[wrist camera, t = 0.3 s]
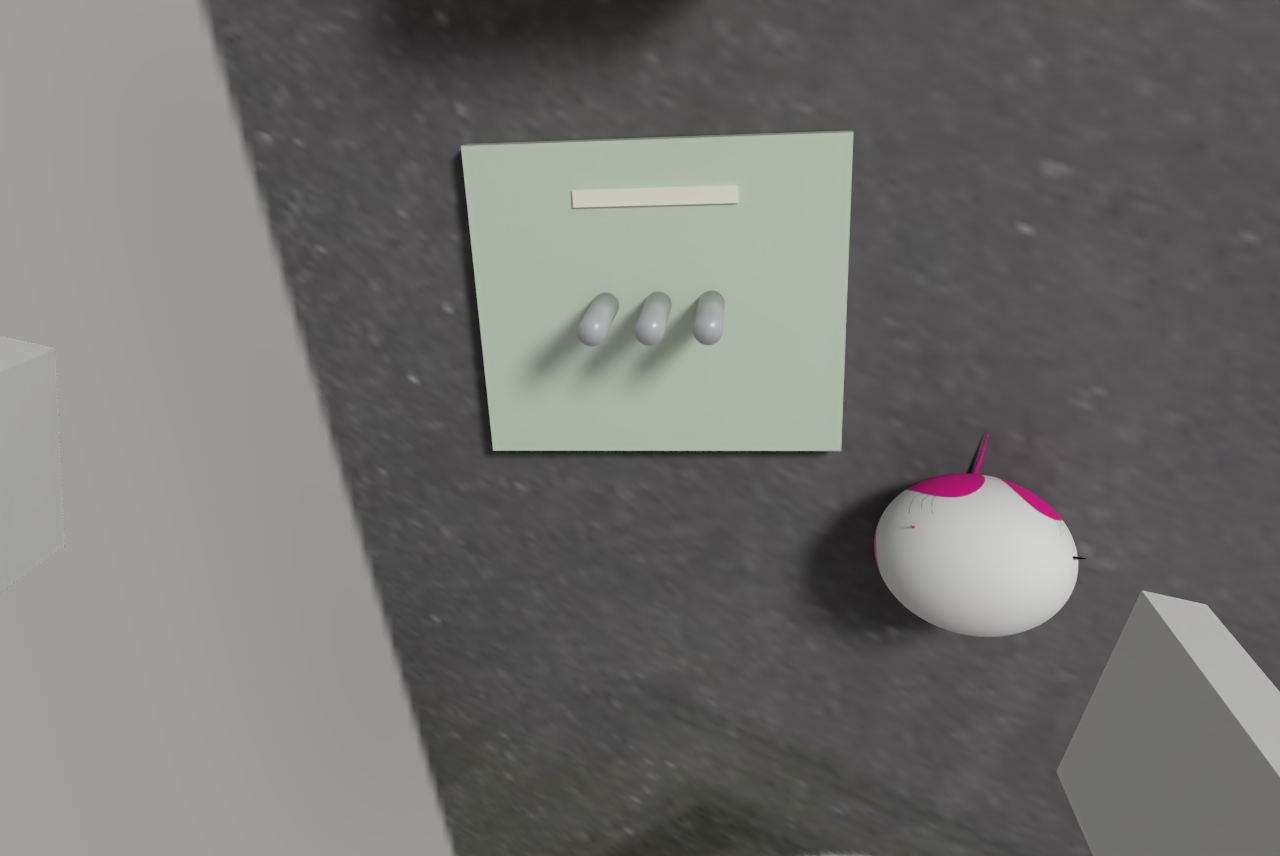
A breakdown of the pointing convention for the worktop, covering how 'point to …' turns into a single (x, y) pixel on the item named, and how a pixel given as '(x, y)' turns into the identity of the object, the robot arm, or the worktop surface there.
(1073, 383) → the worktop surface
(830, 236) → the board
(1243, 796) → the robot arm
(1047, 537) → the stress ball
